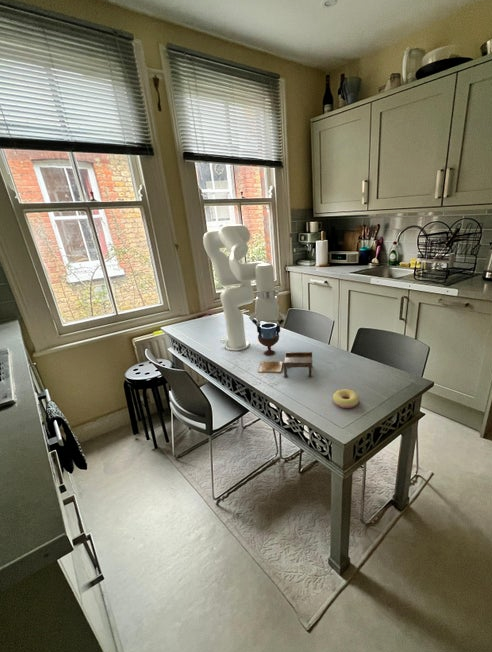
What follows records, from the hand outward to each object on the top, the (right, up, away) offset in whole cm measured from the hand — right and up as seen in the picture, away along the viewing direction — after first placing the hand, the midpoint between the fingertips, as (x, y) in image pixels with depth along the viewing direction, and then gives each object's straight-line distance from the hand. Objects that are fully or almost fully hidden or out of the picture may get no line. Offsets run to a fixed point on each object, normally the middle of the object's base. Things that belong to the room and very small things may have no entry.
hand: (268, 333), depth 140 cm
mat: (+1, -15, +7) cm, 17 cm away
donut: (+30, -27, -22) cm, 46 cm away
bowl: (0, -1, +1) cm, 1 cm away
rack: (+13, -17, +2) cm, 22 cm away
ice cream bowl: (-1, -9, +22) cm, 24 cm away
